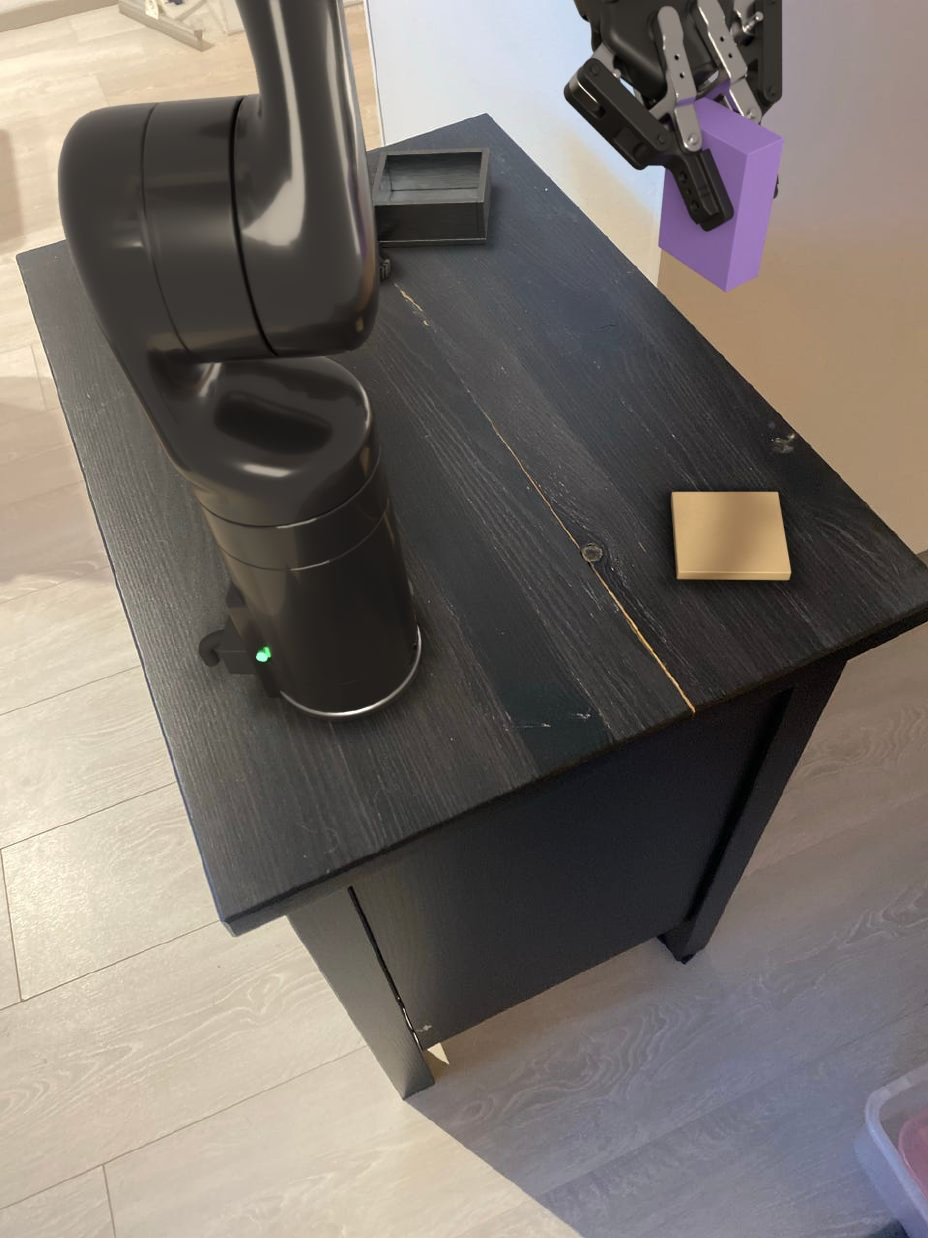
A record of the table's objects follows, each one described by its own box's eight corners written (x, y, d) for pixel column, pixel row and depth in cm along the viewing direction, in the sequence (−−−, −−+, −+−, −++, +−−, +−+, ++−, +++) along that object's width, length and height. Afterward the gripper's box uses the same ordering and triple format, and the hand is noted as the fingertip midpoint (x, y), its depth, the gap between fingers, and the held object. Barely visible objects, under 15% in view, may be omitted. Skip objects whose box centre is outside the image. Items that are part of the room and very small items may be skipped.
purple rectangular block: (725, 292, 54) (748, 154, 48) (657, 246, 57) (669, 110, 51) (758, 276, 55) (785, 137, 48) (689, 231, 58) (705, 95, 51)
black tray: (375, 247, 86) (368, 204, 82) (387, 193, 91) (381, 150, 87) (485, 244, 84) (483, 201, 81) (491, 189, 90) (489, 146, 86)
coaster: (676, 579, 61) (677, 571, 60) (670, 499, 65) (671, 491, 64) (789, 580, 60) (791, 572, 59) (775, 499, 64) (778, 491, 63)
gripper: (679, -98, 54) (792, 195, 57) (474, -26, 50) (607, 283, 53) (760, -200, 47) (884, 141, 50) (528, -126, 43) (678, 238, 46)
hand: (740, 213), depth 52 cm, fingers closed on purple rectangular block, 2 cm apart
